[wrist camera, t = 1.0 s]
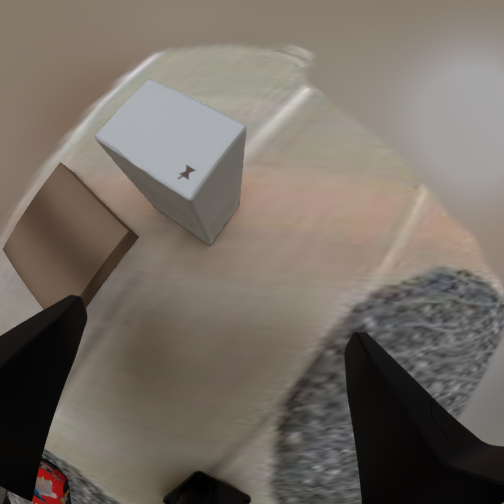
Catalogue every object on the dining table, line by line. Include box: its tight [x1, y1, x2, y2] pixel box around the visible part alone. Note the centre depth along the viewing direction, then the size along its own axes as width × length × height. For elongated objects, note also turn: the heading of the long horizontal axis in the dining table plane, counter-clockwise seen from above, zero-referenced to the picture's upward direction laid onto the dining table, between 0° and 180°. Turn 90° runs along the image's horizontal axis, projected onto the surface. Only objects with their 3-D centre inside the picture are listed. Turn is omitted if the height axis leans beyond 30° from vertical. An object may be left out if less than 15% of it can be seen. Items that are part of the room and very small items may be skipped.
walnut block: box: [3, 162, 139, 309], centre depth 20 cm, size 10×10×3 cm
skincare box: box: [95, 79, 246, 246], centre depth 17 cm, size 6×4×12 cm
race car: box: [32, 460, 71, 504], centre depth 16 cm, size 13×5×4 cm, turn 163°
